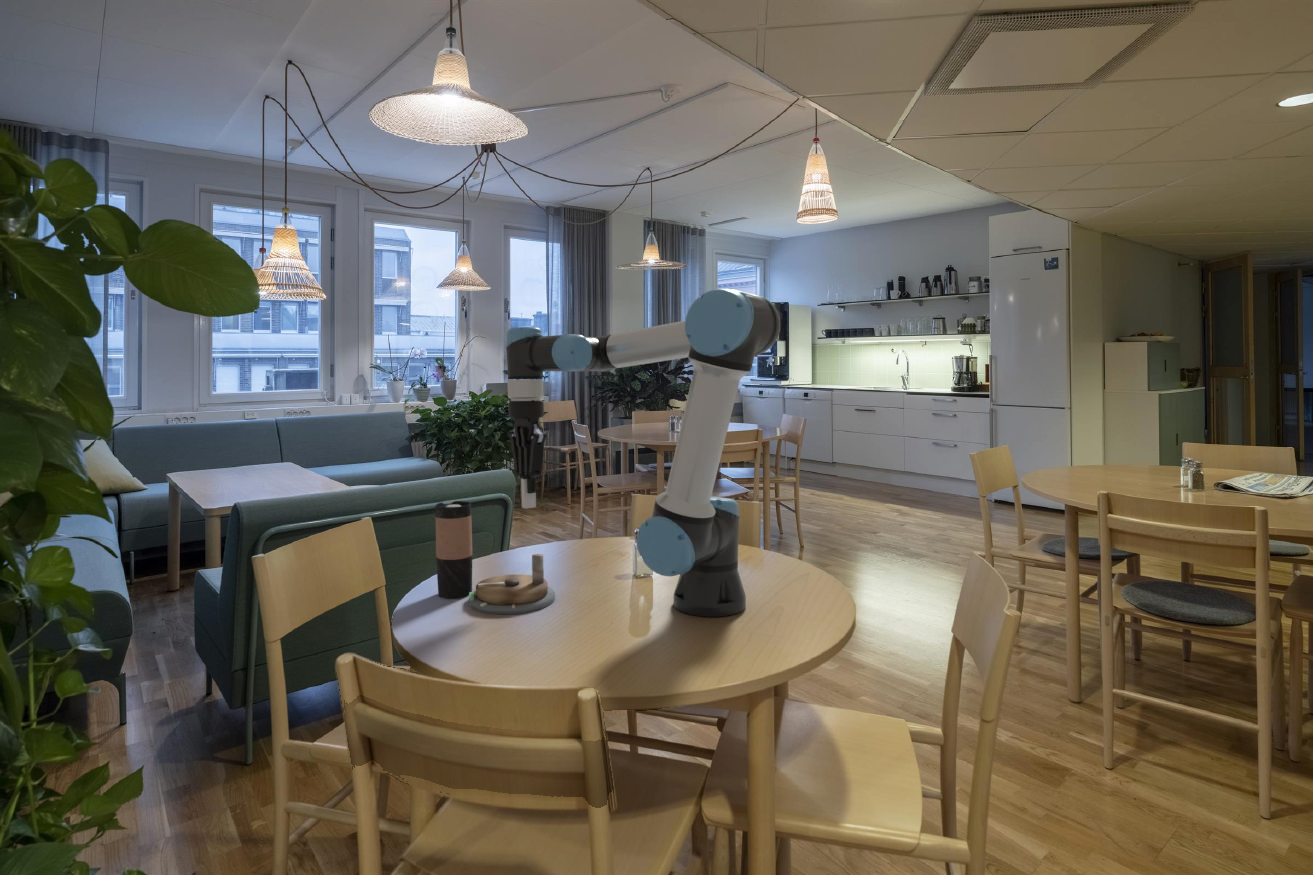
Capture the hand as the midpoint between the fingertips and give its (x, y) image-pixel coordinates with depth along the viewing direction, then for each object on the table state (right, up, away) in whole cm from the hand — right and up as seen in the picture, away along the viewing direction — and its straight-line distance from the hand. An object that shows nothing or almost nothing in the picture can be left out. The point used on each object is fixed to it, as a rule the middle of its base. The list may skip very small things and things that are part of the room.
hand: (529, 507), depth 160 cm
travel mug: (-16, -19, +1) cm, 25 cm away
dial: (-3, -18, -4) cm, 19 cm away
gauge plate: (-3, -20, -4) cm, 20 cm away
